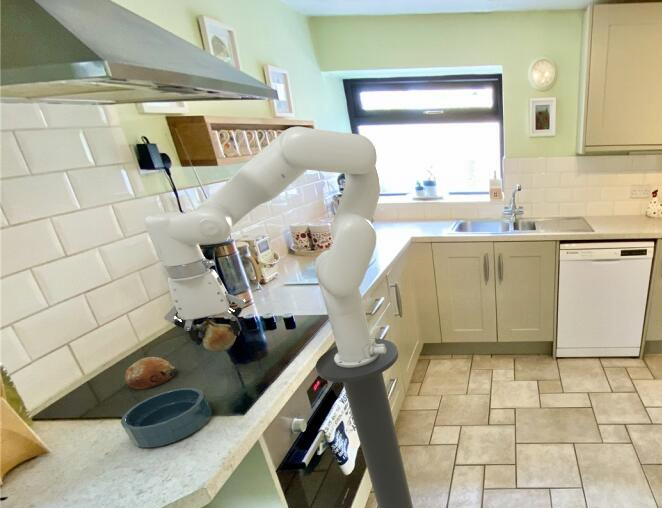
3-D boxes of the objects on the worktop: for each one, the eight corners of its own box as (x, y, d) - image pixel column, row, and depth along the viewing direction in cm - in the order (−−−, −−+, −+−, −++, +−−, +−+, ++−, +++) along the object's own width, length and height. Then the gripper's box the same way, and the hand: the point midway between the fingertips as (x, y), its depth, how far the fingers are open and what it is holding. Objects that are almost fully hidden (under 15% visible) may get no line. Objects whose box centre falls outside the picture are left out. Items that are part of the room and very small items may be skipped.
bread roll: (165, 380, 119) (143, 358, 116) (188, 367, 115) (165, 344, 112) (133, 401, 110) (108, 377, 107) (157, 387, 107) (132, 363, 104)
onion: (205, 361, 99) (191, 331, 95) (206, 347, 105) (193, 319, 101) (241, 351, 102) (229, 321, 98) (240, 338, 108) (228, 310, 104)
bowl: (227, 406, 99) (218, 387, 97) (179, 450, 86) (167, 429, 84) (170, 406, 100) (160, 387, 98) (115, 449, 88) (101, 428, 85)
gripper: (233, 257, 100) (259, 323, 108) (146, 272, 94) (180, 341, 102) (230, 265, 94) (258, 335, 102) (136, 282, 88) (173, 354, 96)
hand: (219, 337), depth 102 cm, fingers closed on onion, 7 cm apart
